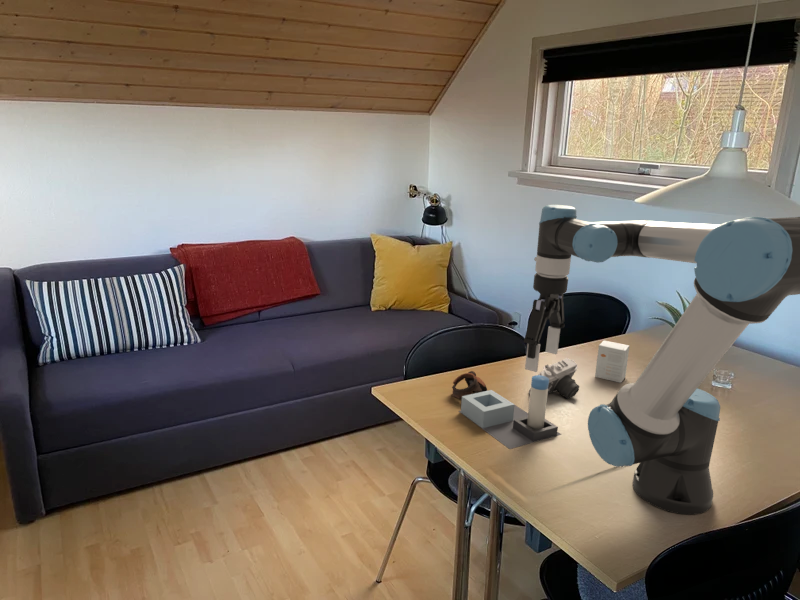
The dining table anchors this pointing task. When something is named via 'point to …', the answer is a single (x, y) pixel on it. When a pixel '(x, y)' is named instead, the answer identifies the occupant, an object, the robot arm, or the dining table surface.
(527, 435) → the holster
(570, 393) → the camera
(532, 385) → the plug
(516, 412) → the mat
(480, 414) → the block
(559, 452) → the dining table surface
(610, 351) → the small box
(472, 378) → the brown arched frame
